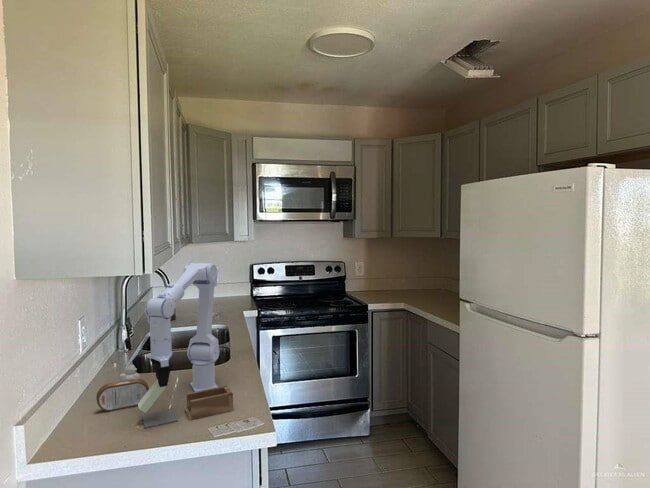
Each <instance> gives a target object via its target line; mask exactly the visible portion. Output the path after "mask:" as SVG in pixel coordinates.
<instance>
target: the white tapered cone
mask: <svg viewBox="0 0 650 488" xmlns="http://www.w3.org/2000/svg"><path fill="white" fill-rule="evenodd" d="M137 370H138V368H136V366H135V365H134V364H133V361H132V362H130V364H129V365H128V366H127V367H126V369H125V372H126V373H120V375H119V378H120V381H125V380H131V379H141V376H140V374H139V373H138V372H137Z"/></svg>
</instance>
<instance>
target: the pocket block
mask: <svg viewBox="0 0 650 488" xmlns="http://www.w3.org/2000/svg"><path fill="white" fill-rule="evenodd" d="M232 411H234V392H232V390H231V389H230V388H229V387H228V385H222V386H218V387H216V388H211V389H206V390H201V391H196V392H195V391H192V392H187V393H186V406H185V407H184V413H185V414H186V416H187V419H188V421H193V420H198V419H200V418H205V417H210V416H214V415H218V414H224V413H228V412H232Z"/></svg>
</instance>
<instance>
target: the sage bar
mask: <svg viewBox="0 0 650 488" xmlns="http://www.w3.org/2000/svg"><path fill="white" fill-rule="evenodd" d="M169 384H170V382H169V381H168V385H169ZM168 385H167V386H164V387H160V386H159V383H158V379H157V378H156V380H155V381H154V383H153V384H152V385H151V386H150V388H149V390H148V391H147V393H146V394H145V395H144V396H143V398H142V399H141V400H140V402H139V403H138V406H137V407H138V410H140V411H142V412H144V414H147V412H148V411H149V410H150V409H151V407H152V406H153V405H154V403H155V402H156V401H157V399H158V398H159V397H160V396H161V394H162V393H163V392H164V391H165V389H166V388H167V387H168Z"/></svg>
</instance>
